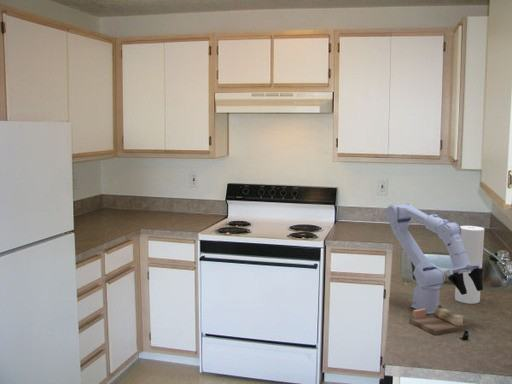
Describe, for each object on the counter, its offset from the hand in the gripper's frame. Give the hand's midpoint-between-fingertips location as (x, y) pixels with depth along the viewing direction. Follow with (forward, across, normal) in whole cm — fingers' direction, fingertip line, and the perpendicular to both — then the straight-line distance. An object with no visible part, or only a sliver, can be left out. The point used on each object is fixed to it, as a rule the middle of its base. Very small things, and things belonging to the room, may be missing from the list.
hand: (472, 292), depth 191 cm
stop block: (+3, -13, +15) cm, 20 cm away
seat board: (+8, -10, +11) cm, 17 cm away
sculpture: (+15, -10, 0) cm, 18 cm away
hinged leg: (+7, -6, +9) cm, 13 cm away
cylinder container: (+1, +21, +26) cm, 33 cm away
